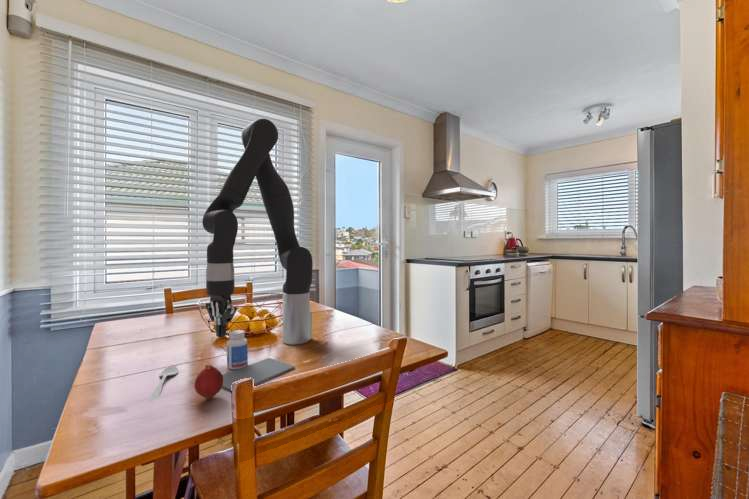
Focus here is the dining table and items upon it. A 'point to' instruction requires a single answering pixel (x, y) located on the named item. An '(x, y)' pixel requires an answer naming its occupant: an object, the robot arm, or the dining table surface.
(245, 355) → the pill bottle
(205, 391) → the onion
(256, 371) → the mat
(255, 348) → the dining table surface
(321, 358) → the dining table surface
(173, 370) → the spoon
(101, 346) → the dining table surface
